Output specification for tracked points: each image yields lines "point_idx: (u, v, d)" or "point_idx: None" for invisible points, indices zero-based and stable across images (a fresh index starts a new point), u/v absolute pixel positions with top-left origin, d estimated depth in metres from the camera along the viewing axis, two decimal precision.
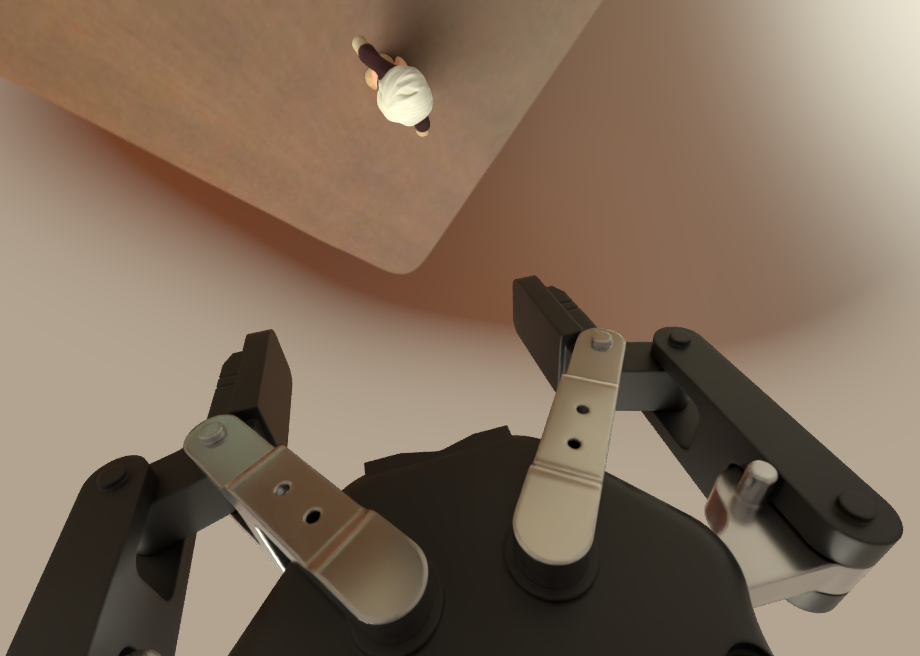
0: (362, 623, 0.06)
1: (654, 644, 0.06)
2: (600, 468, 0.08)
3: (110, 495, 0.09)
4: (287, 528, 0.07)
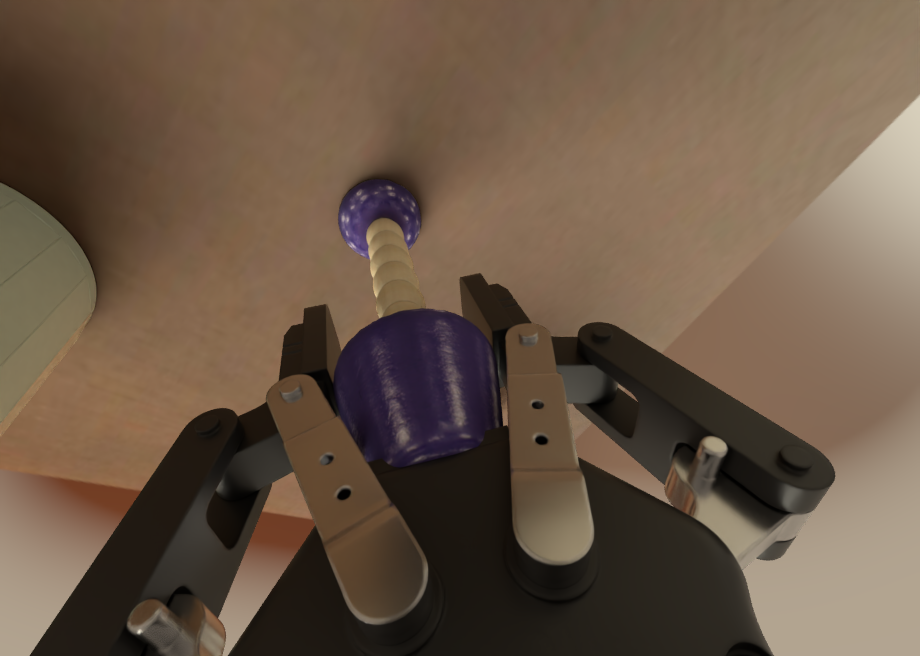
0: (352, 613, 0.06)
1: (654, 644, 0.06)
2: (572, 456, 0.08)
3: (202, 442, 0.10)
4: (319, 498, 0.08)
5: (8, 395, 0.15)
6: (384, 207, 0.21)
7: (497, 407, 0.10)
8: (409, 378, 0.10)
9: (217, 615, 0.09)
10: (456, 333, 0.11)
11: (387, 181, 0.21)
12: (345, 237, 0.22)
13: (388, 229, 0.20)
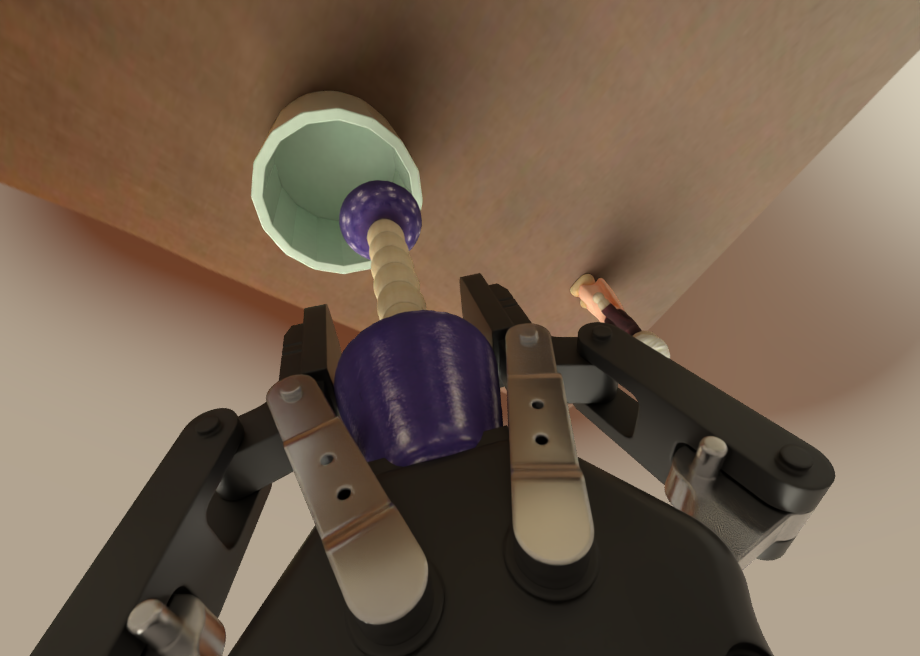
0: (352, 613, 0.06)
1: (654, 644, 0.06)
2: (572, 456, 0.08)
3: (202, 442, 0.10)
4: (319, 497, 0.08)
5: None
6: (385, 208, 0.21)
7: (497, 409, 0.10)
8: (409, 380, 0.10)
9: (218, 615, 0.09)
10: (456, 335, 0.11)
11: (388, 182, 0.21)
12: (346, 238, 0.22)
13: (389, 230, 0.20)
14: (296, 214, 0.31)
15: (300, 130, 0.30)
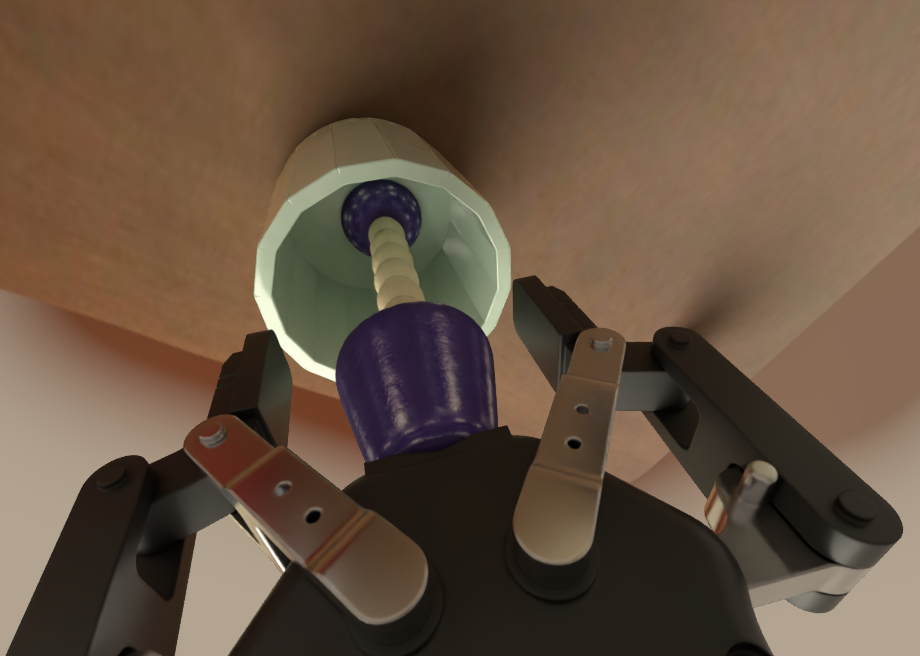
0: (362, 623, 0.06)
1: (654, 644, 0.06)
2: (600, 468, 0.08)
3: (110, 495, 0.09)
4: (287, 528, 0.07)
5: None
6: (385, 206, 0.21)
7: (491, 395, 0.11)
8: (407, 367, 0.10)
9: None
10: (452, 324, 0.11)
11: (388, 181, 0.22)
12: (347, 235, 0.22)
13: (389, 227, 0.20)
14: (316, 291, 0.22)
15: None
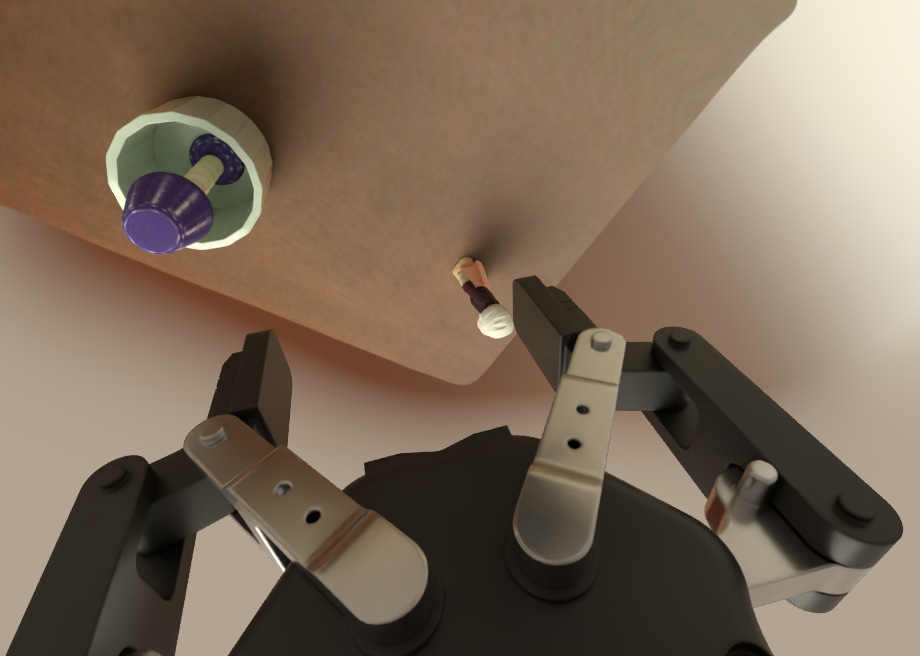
0: (362, 622, 0.06)
1: (654, 644, 0.06)
2: (600, 468, 0.08)
3: (110, 495, 0.09)
4: (287, 528, 0.07)
5: (263, 199, 0.34)
6: (211, 149, 0.36)
7: (185, 207, 0.25)
8: (141, 190, 0.25)
9: None
10: (173, 179, 0.26)
11: None
12: None
13: (208, 160, 0.35)
14: None
15: (174, 129, 0.36)
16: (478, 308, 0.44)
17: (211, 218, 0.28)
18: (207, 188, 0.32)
